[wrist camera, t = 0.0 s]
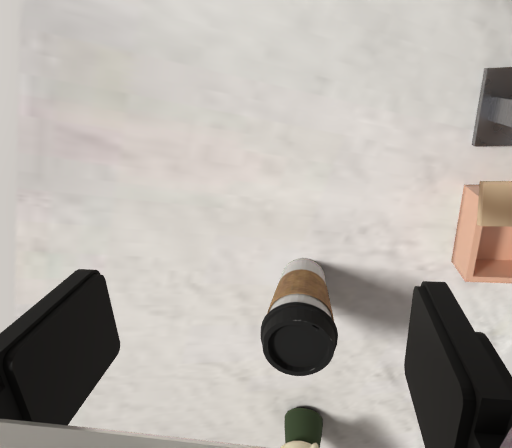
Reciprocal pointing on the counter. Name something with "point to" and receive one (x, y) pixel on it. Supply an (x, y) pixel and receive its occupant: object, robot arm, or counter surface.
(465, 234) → the pink open box
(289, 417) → the character mug
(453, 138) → the counter surface
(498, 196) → the lever
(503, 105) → the pivot stand
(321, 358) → the coffee cup
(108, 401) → the counter surface
